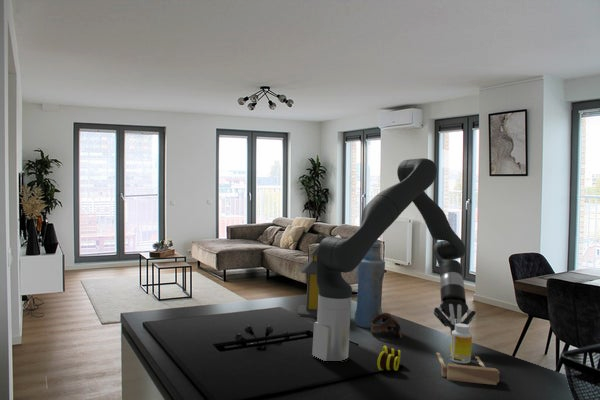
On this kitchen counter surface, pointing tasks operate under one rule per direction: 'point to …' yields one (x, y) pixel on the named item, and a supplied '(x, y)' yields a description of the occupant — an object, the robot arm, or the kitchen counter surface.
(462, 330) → the supplement bottle
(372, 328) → the brown jagged curved piece
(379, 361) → the opera glasses
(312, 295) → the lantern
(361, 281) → the bottle
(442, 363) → the bay
